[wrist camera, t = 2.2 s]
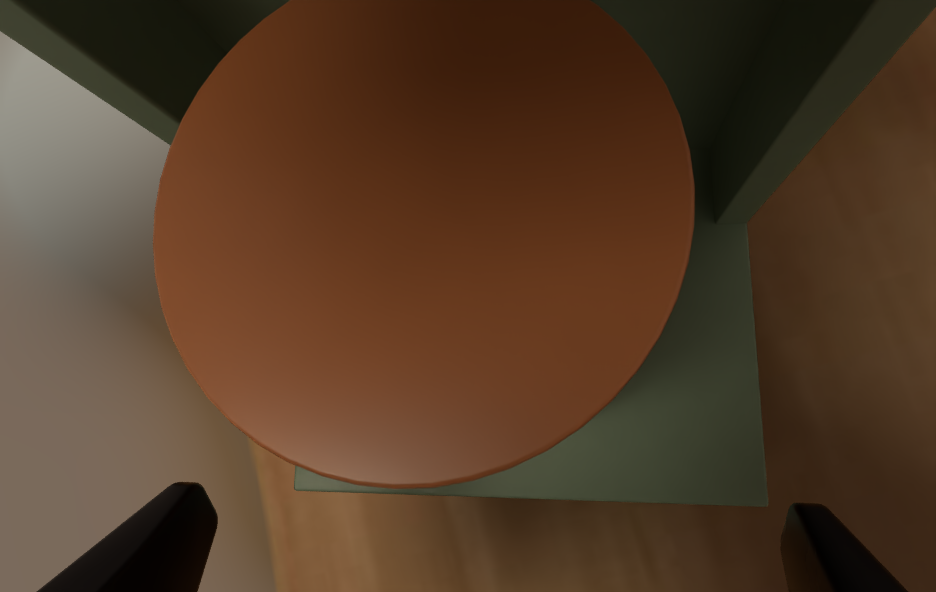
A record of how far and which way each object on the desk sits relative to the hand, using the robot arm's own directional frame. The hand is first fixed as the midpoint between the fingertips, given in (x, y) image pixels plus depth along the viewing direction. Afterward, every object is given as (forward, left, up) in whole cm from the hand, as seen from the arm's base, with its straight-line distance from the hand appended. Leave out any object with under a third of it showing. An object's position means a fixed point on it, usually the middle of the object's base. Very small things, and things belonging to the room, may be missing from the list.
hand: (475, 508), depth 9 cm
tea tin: (+3, -1, -6) cm, 7 cm away
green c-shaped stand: (+3, -1, -12) cm, 13 cm away
